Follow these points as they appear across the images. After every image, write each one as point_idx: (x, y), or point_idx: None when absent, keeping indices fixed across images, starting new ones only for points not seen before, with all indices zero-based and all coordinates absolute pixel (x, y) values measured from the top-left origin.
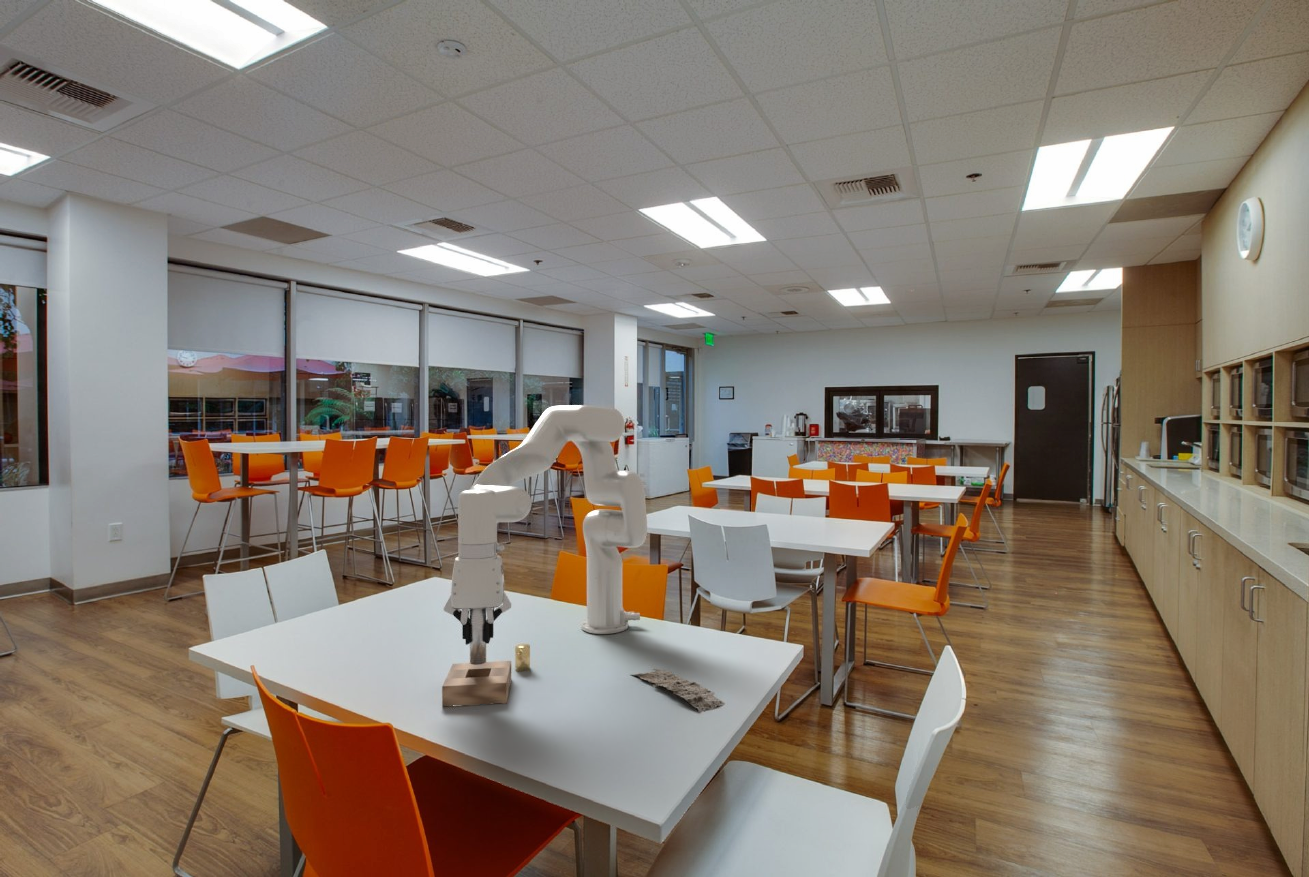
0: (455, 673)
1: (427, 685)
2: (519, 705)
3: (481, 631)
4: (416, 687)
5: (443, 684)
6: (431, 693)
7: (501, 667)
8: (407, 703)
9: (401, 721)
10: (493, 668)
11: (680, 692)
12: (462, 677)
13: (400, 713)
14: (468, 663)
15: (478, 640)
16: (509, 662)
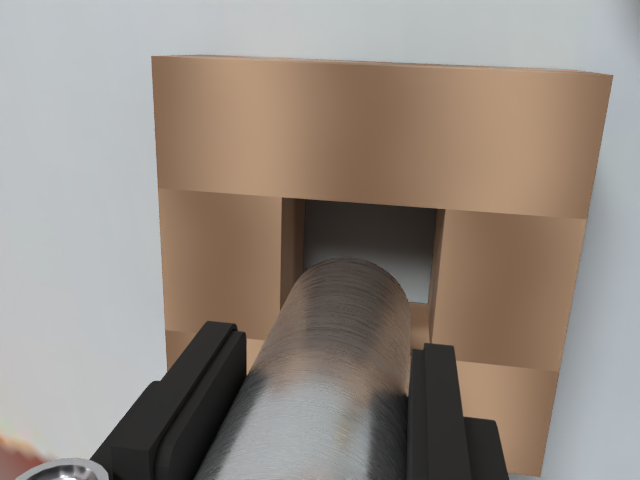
0: (207, 253)
1: (65, 68)
2: (584, 443)
3: None
4: (15, 87)
5: None
6: (118, 192)
7: (521, 212)
8: (39, 288)
9: (75, 455)
10: (460, 221)
11: None
12: (262, 329)
13: (46, 383)
14: (266, 72)
15: None
16: (593, 116)
